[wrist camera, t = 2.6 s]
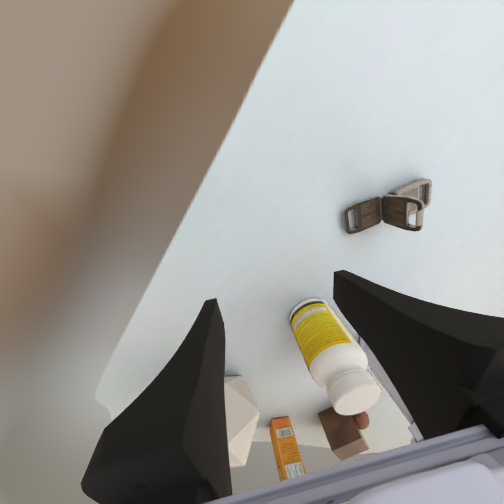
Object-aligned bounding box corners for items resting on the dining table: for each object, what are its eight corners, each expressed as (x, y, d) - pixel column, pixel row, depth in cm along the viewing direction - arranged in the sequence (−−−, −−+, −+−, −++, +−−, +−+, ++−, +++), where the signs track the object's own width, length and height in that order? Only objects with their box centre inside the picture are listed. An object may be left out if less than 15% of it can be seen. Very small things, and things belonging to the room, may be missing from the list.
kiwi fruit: (334, 412, 35) (342, 430, 33) (361, 401, 35) (371, 419, 33) (339, 426, 38) (347, 443, 35) (365, 416, 38) (374, 433, 35)
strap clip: (424, 175, 19) (476, 179, 15) (423, 205, 20) (469, 215, 17) (340, 207, 19) (370, 219, 15) (344, 234, 21) (373, 252, 17)
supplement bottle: (279, 322, 24) (312, 414, 16) (307, 289, 23) (362, 371, 14) (310, 336, 26) (356, 425, 18) (338, 307, 25) (404, 389, 16)
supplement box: (287, 426, 35) (311, 517, 26) (268, 428, 35) (286, 522, 26) (290, 415, 34) (316, 507, 25) (271, 417, 33) (290, 513, 24)
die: (216, 347, 26) (155, 443, 19) (279, 387, 24) (238, 510, 17) (212, 366, 32) (165, 445, 25) (263, 400, 30) (227, 495, 23)
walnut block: (343, 401, 35) (361, 437, 30) (351, 413, 37) (369, 448, 32) (317, 413, 35) (332, 451, 31) (326, 424, 37) (341, 461, 33)
